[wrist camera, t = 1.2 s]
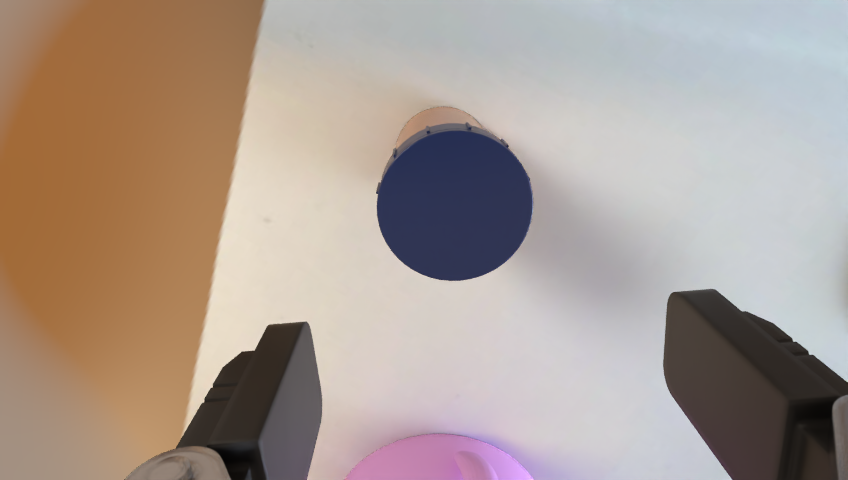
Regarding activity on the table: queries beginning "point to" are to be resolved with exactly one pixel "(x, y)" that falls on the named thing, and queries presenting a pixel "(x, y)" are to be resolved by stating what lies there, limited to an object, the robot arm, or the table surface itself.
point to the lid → (454, 202)
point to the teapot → (438, 461)
